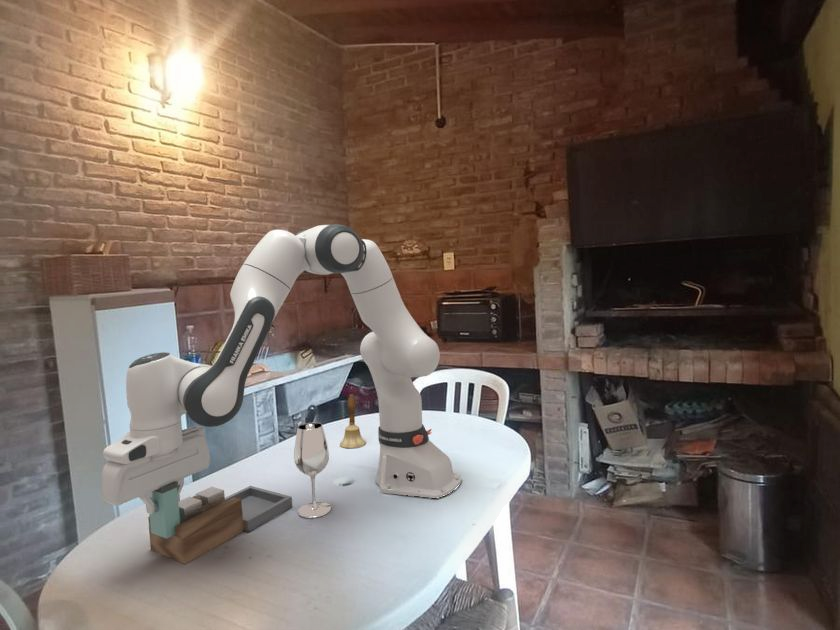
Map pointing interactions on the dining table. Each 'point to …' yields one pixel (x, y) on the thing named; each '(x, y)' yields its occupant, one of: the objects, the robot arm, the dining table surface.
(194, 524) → the groove board
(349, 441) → the hand bell
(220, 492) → the steel block
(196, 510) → the steel block
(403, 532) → the dining table surface
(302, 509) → the wineglass
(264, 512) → the tray
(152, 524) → the green grey block
